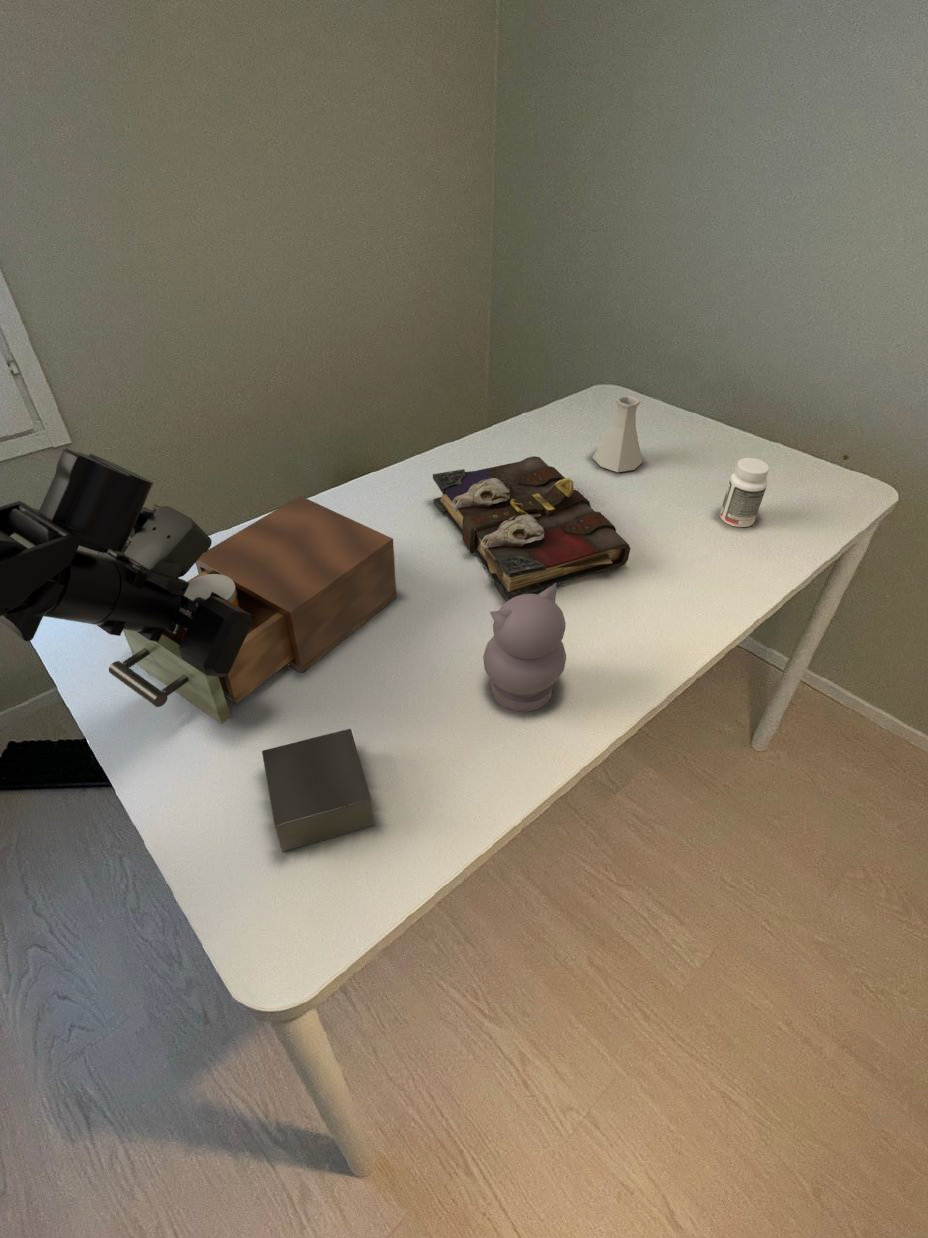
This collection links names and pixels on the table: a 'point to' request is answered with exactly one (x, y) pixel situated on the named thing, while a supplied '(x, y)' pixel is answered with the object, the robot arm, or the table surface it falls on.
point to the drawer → (163, 660)
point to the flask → (621, 439)
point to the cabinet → (310, 573)
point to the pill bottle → (745, 492)
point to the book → (529, 525)
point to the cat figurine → (526, 650)
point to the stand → (317, 789)
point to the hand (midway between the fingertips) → (228, 618)
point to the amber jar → (212, 588)
